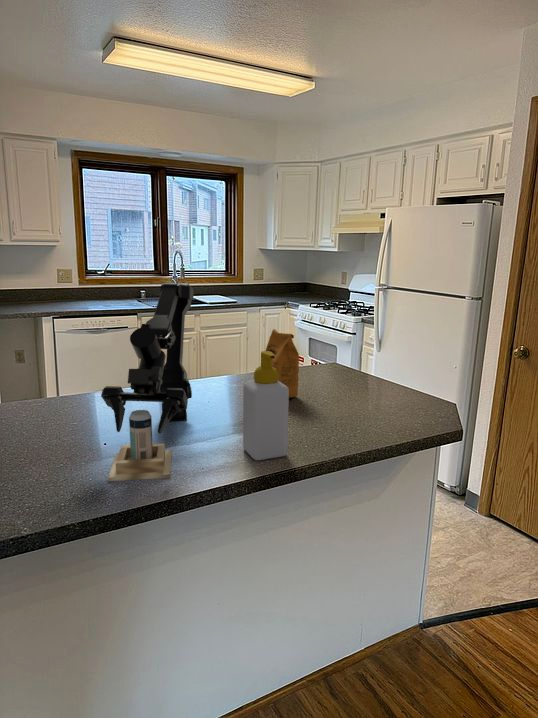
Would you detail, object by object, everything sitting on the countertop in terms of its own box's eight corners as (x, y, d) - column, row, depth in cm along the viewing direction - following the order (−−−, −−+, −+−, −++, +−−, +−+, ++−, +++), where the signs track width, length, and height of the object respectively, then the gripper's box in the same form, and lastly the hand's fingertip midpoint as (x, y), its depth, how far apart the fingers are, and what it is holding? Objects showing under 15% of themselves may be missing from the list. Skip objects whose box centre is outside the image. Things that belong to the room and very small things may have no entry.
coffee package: (282, 389, 177) (284, 327, 172) (301, 398, 166) (303, 333, 161) (257, 392, 172) (258, 329, 167) (275, 402, 162) (277, 335, 157)
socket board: (171, 453, 122) (171, 440, 121) (170, 477, 109) (169, 463, 108) (116, 456, 120) (115, 443, 119) (108, 481, 107) (107, 466, 106)
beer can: (157, 460, 116) (155, 410, 113) (144, 468, 111) (142, 417, 109) (139, 457, 117) (137, 408, 115) (126, 465, 113) (124, 414, 110)
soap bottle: (254, 462, 117) (255, 357, 112) (241, 448, 125) (241, 349, 120) (289, 456, 121) (292, 354, 115) (274, 443, 129) (276, 347, 123)
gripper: (101, 351, 113) (84, 414, 105) (184, 354, 112) (173, 417, 104) (115, 376, 122) (101, 436, 114) (191, 378, 121) (182, 439, 113)
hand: (138, 432), depth 111 cm, fingers open, 9 cm apart
